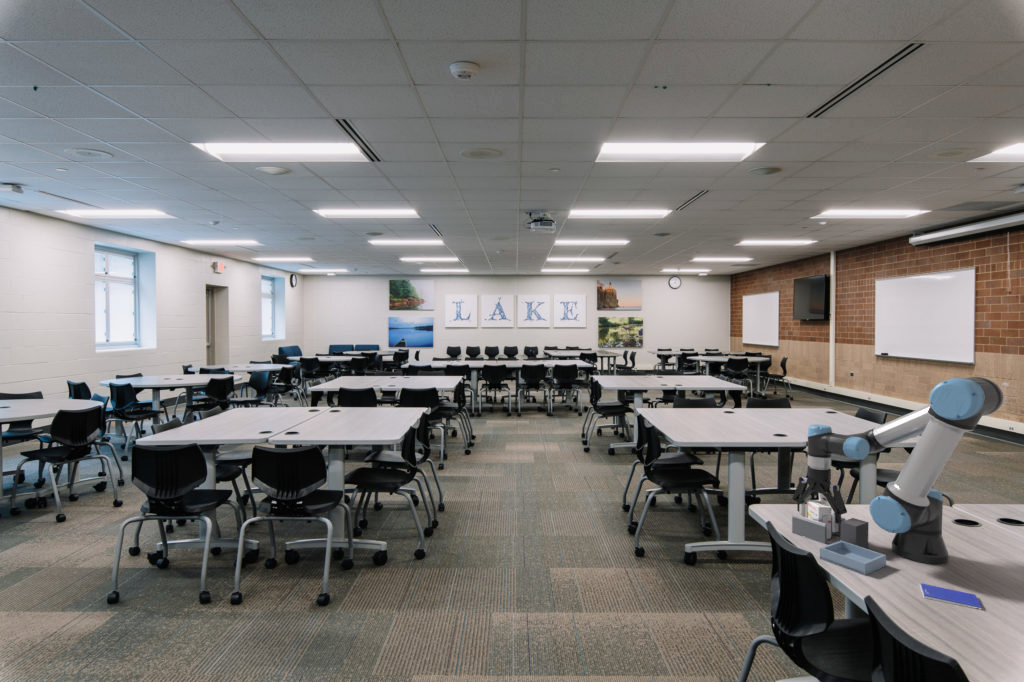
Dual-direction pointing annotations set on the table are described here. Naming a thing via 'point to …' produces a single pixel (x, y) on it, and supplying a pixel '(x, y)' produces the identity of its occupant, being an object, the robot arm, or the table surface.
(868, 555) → the tray
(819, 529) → the pair of grey slabs
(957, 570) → the table surface
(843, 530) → the dark gray block
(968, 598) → the hard drive
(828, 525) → the ink cartridge box
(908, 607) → the table surface
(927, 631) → the table surface
